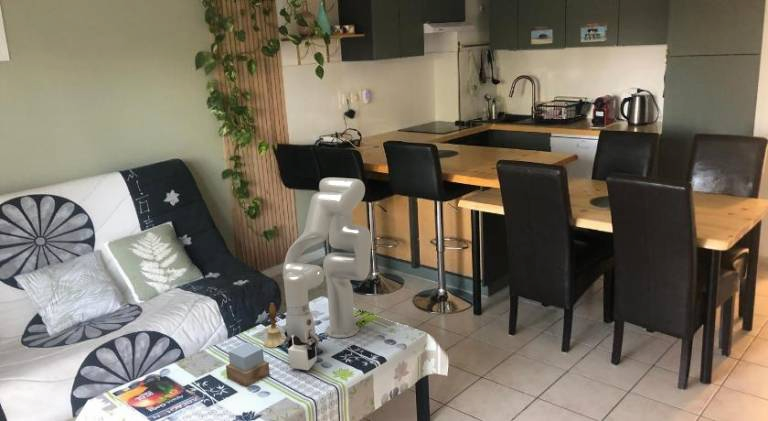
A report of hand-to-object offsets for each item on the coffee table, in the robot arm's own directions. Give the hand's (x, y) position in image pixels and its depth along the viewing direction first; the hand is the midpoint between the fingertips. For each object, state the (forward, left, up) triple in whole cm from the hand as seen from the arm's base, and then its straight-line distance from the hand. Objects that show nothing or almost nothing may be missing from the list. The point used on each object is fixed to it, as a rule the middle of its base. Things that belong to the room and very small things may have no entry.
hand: (302, 354), depth 225 cm
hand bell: (-7, -23, -5) cm, 24 cm away
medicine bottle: (0, 0, -4) cm, 4 cm away
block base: (+15, -11, -5) cm, 19 cm away
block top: (+15, -11, 0) cm, 19 cm away
